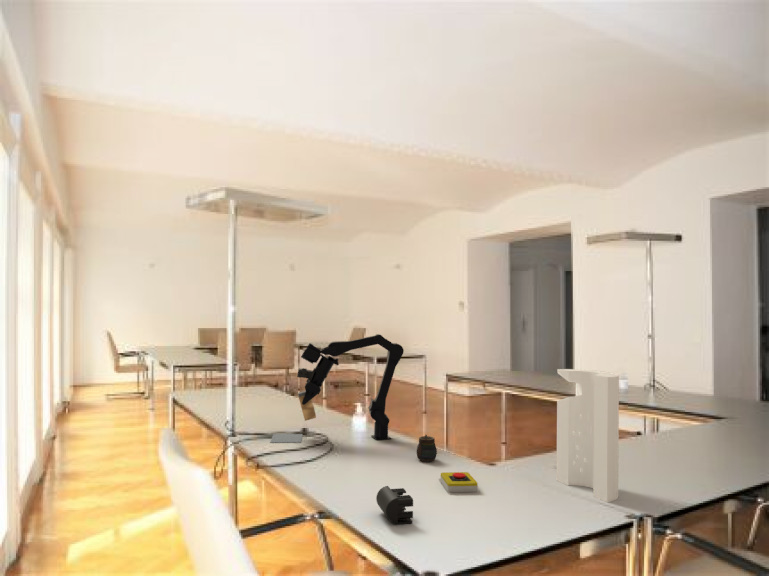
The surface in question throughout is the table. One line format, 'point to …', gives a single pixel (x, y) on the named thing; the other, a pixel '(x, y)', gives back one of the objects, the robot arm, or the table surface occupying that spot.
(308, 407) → the oak block
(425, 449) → the dark lidded jar
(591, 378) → the white notched upright
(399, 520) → the end cap
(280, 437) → the slate mat
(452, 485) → the emergency button
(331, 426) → the table surface
